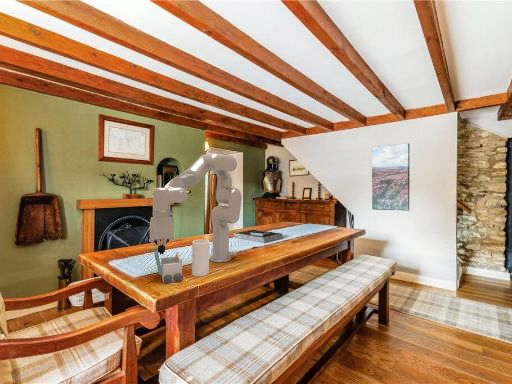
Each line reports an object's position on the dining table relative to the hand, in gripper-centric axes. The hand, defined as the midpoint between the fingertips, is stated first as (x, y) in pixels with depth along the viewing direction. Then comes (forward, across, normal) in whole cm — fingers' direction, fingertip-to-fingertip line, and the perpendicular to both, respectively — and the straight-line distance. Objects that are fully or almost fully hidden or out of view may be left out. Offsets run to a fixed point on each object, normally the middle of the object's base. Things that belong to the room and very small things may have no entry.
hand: (161, 253), depth 118 cm
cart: (+12, -4, 0) cm, 12 cm away
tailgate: (+8, 0, 0) cm, 8 cm away
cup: (+12, -18, 0) cm, 22 cm away
